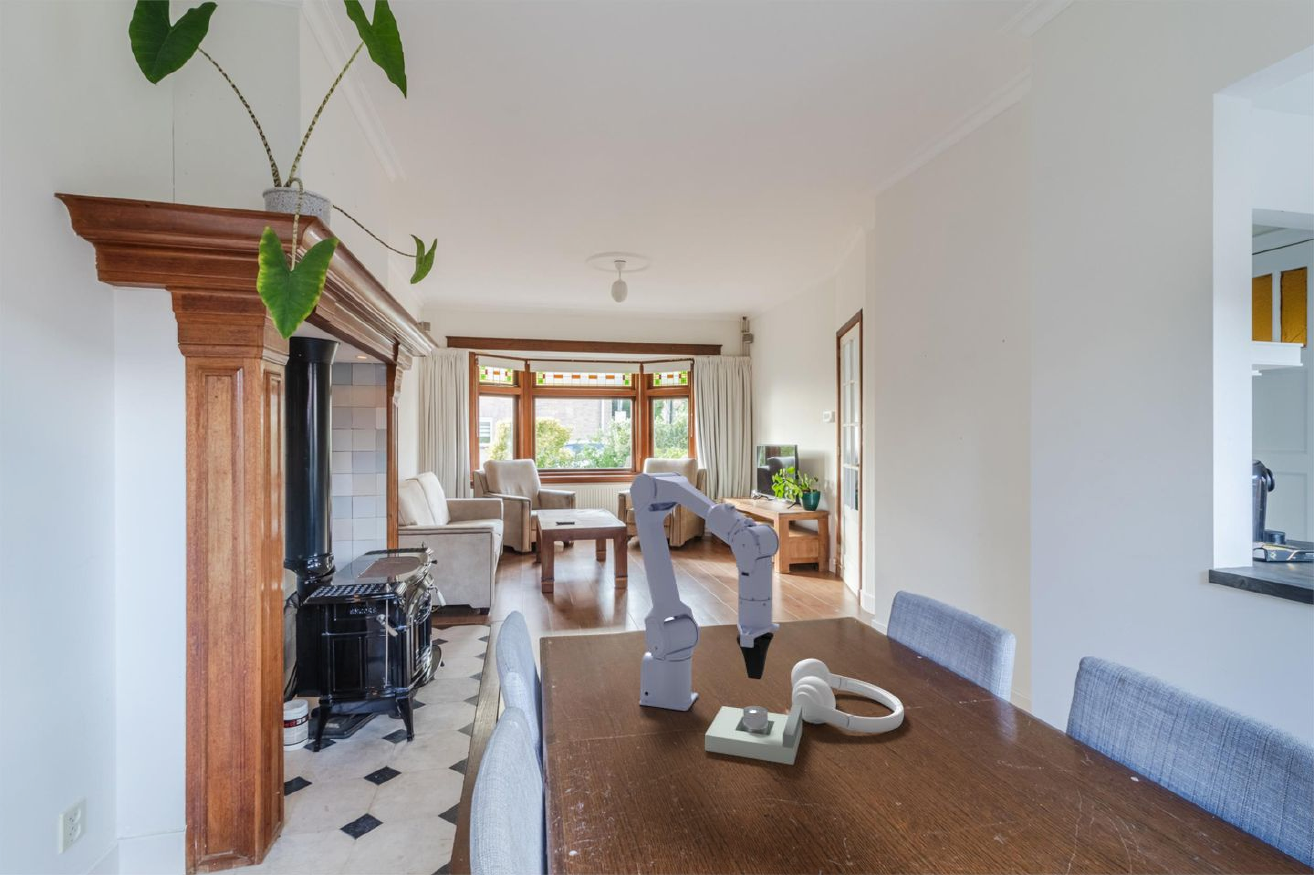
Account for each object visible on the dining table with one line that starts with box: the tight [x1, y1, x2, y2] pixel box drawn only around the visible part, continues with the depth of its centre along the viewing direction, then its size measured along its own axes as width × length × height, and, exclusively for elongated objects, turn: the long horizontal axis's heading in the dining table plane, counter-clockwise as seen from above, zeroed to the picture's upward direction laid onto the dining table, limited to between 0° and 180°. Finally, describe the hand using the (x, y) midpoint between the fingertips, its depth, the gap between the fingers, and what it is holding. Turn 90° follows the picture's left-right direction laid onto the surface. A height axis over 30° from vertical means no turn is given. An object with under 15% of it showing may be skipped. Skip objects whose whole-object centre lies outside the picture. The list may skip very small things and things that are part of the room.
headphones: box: [790, 658, 905, 734], centre depth 117 cm, size 20×8×20 cm
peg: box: [742, 705, 769, 735], centre depth 105 cm, size 4×4×5 cm
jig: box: [704, 704, 803, 766], centre depth 105 cm, size 14×12×4 cm
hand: (755, 677), depth 107 cm, fingers closed
